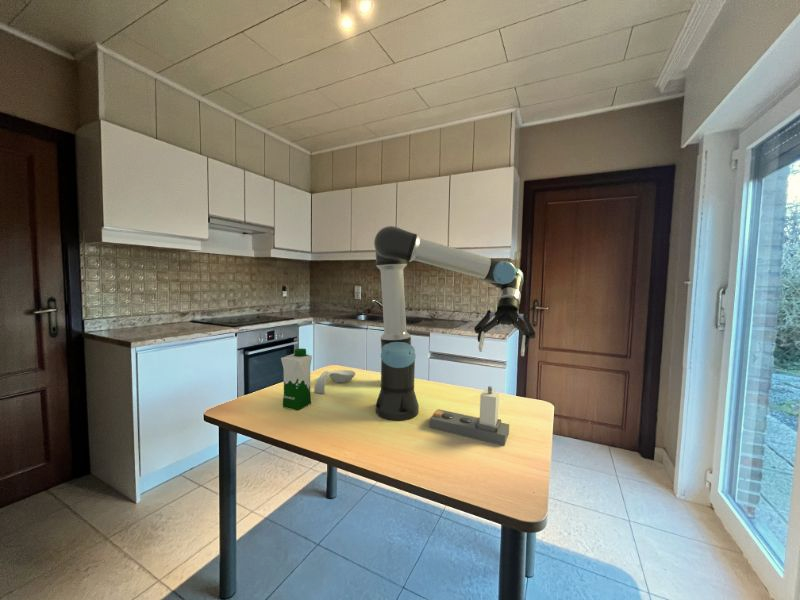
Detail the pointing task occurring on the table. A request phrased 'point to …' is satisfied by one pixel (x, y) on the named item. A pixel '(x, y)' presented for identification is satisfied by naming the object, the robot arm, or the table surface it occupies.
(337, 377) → the grey ladle
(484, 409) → the white block with knob
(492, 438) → the power strip
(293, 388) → the milk carton
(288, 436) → the table surface
